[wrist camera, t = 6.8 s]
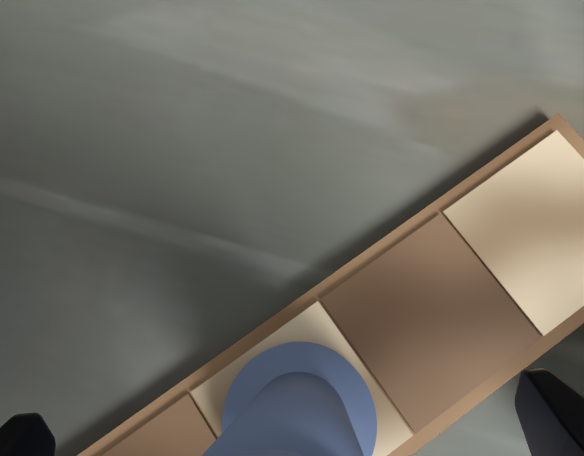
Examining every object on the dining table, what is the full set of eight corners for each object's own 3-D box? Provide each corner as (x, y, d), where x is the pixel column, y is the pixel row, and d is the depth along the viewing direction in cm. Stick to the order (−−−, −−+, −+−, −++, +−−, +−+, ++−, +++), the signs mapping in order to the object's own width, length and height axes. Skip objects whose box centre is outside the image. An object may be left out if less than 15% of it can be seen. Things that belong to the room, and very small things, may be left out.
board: (670, 250, 17) (687, 246, 16) (134, 658, 15) (124, 676, 14) (550, 119, 19) (561, 110, 18) (42, 481, 17) (29, 488, 16)
